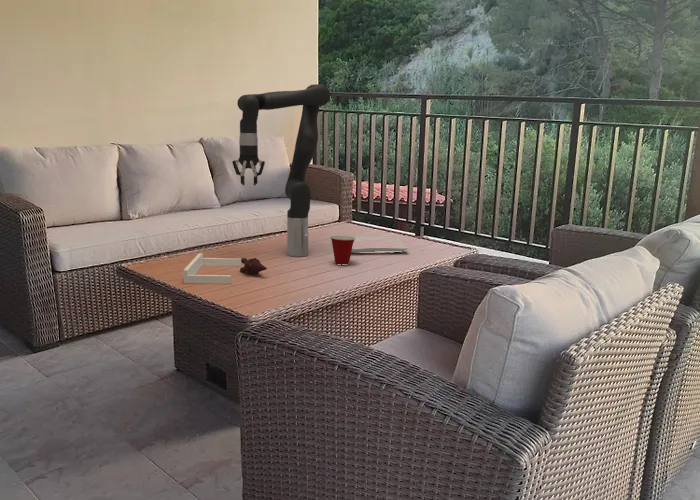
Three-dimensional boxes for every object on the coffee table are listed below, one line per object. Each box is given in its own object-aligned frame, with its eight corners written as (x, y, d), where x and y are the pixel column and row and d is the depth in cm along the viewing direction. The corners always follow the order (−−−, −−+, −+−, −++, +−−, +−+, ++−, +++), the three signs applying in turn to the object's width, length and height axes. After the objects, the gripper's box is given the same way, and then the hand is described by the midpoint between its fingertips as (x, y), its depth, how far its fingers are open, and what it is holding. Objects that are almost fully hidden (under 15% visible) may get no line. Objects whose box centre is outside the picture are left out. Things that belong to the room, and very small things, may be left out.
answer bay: (241, 265, 263) (241, 253, 262) (231, 284, 237) (230, 271, 235) (199, 264, 263) (198, 253, 262) (183, 283, 236) (183, 270, 235)
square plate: (408, 255, 290) (408, 247, 289) (349, 256, 285) (349, 248, 284) (394, 242, 316) (394, 235, 315) (340, 243, 311) (340, 235, 310)
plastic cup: (359, 262, 273) (359, 235, 270) (348, 268, 264) (349, 240, 261) (336, 259, 278) (337, 232, 275) (325, 264, 268) (325, 237, 265)
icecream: (274, 260, 248) (249, 257, 257) (260, 258, 242) (234, 255, 251) (272, 278, 247) (246, 274, 257) (258, 276, 242) (232, 272, 251)
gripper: (266, 143, 267) (266, 184, 271) (232, 143, 267) (233, 183, 270) (264, 145, 260) (265, 186, 264) (229, 144, 259) (230, 185, 263)
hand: (249, 184), depth 267 cm, fingers open, 4 cm apart
